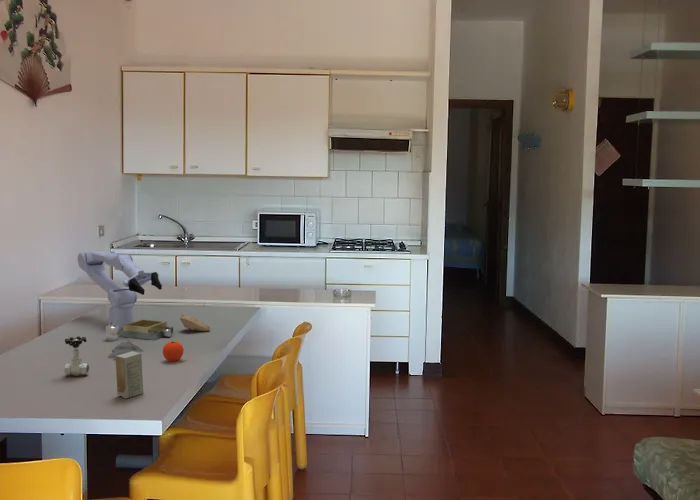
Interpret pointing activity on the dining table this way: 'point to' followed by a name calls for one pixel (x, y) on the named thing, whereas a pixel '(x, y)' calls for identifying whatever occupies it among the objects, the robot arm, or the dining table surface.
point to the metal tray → (146, 329)
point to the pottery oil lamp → (193, 323)
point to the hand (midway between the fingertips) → (152, 290)
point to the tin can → (112, 333)
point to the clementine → (173, 351)
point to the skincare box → (129, 374)
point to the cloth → (124, 349)
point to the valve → (76, 358)
